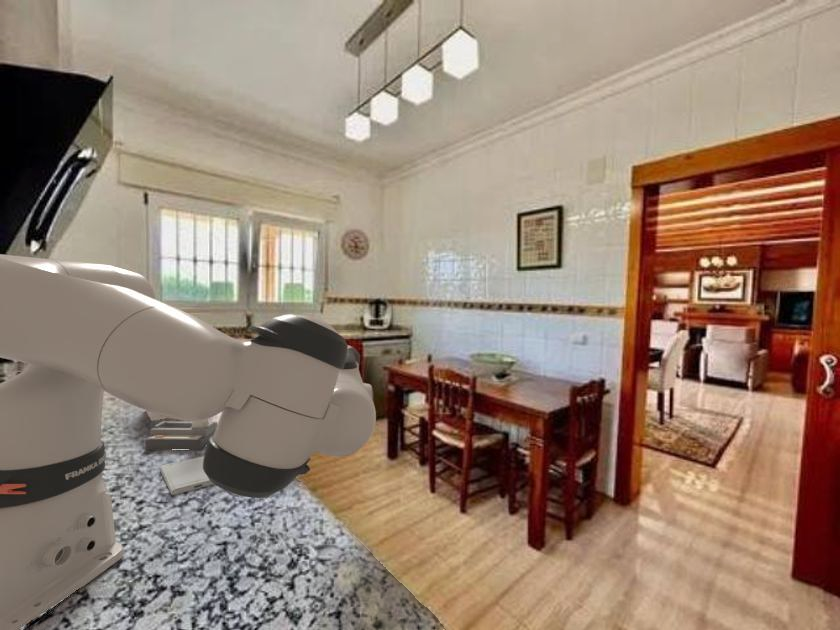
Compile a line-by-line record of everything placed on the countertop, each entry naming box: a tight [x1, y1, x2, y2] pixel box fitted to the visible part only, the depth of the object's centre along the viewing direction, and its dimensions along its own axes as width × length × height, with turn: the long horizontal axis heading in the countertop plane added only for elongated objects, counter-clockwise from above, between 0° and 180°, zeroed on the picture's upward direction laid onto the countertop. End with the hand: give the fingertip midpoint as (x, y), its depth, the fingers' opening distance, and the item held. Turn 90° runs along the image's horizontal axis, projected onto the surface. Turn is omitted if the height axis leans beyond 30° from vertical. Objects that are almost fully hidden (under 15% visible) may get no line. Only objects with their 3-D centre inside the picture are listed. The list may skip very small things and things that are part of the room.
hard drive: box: [159, 455, 215, 496], centre depth 74 cm, size 2×8×12 cm
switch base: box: [144, 420, 218, 451], centre depth 91 cm, size 10×12×4 cm
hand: (247, 397), depth 92 cm, fingers closed
